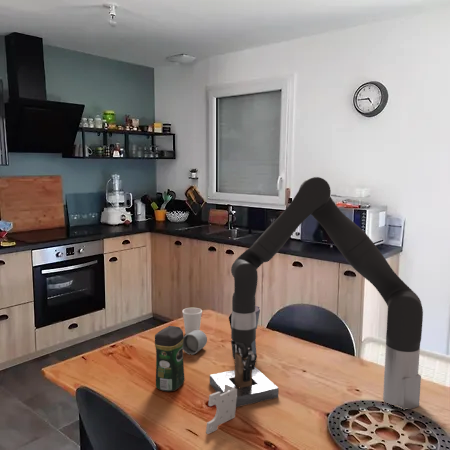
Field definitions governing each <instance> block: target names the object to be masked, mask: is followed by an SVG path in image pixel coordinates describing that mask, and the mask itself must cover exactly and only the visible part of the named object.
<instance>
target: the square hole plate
mask: <svg viewBox="0 0 450 450" xmlns="http://www.w3.org/2000/svg"><path fill="white" fill-rule="evenodd" d="M225 384H226V385H228V386H231V387H233V388H236V389H237V398H236V408H238V407H243V406H247V405H251V404H255V403H261V402H265V401H268V400H272V399H278V398H279V390H280V389H279V387H278V386H277V385H276V383H274V382H273V381H272V380H270V378H268V377H267V376H266V375H265V374H264V373H262V372H261V371H260V370H259V369H258V368H257V367H256V366H255V368H254V370H252V386H247V387H242V388H239V387H238V386H237V385H236V384H235V369H233V370H228V371H223V372H218V373H213V374H209V385H210V386H211V387H212V388H213V390H214V391H215V393H216V392H218V391H219V392H220V394H222V393H224V388H225ZM228 391H230V390H228Z"/></svg>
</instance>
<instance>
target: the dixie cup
mask: <svg viewBox="0 0 450 450" xmlns="http://www.w3.org/2000/svg"><path fill="white" fill-rule="evenodd" d="M181 312H182V317H183V318H182V319H183V323H184V325H183V327H184V331H185V335H187V334H189V333H191V332H192V331H195V330H200V329H201V323H202V322H201V321H202V313H203V310H202V309H201V308H199V307H187V308H184V309H182V311H181Z"/></svg>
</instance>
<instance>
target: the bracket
mask: <svg viewBox="0 0 450 450" xmlns="http://www.w3.org/2000/svg"><path fill="white" fill-rule="evenodd" d="M228 390H230V391H228ZM236 398H237V389H236V388H233V387H231V386H228V385H226V384H225V388H224V393H222V394H220V392H219V391H218V392H216V391H215V392H213V393H211V394H209V395H208V406H209V407H213V406H215V407H216V412H215V415H214V417H212V419H211V420H210V421H207V422H206V429H205V434H207V435H209V434H211V433H213V432H215V431H217V430H218V427H219V426H220V425H222V424H225V423H227V422H228V421H230V420H232V419H234V418H235V417H236V411H237V410H236V408H237V407H236Z"/></svg>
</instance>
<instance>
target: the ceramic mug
mask: <svg viewBox="0 0 450 450" xmlns="http://www.w3.org/2000/svg"><path fill="white" fill-rule="evenodd" d="M183 337H184V338H183V353H184V352H185V353H186V354H187V355H190V354H191V355H195V354H198V352H200V351H201V350H202V349H204V348H205V346H206V345H207V343H208V337H207V334H206V333H205V332H204V331H203V330H195V331H192V332H191V333H189V334H187V335H186V334H185V335H183ZM191 355H190V356H191Z"/></svg>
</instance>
